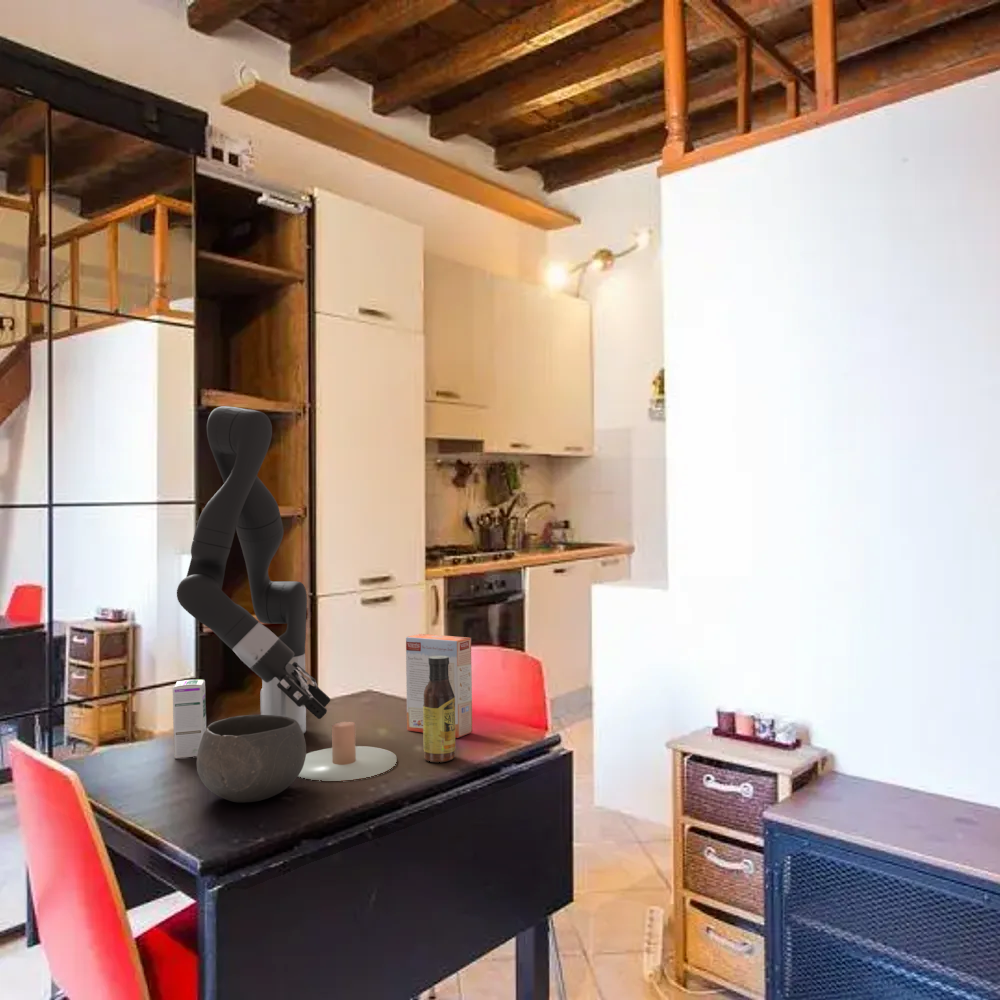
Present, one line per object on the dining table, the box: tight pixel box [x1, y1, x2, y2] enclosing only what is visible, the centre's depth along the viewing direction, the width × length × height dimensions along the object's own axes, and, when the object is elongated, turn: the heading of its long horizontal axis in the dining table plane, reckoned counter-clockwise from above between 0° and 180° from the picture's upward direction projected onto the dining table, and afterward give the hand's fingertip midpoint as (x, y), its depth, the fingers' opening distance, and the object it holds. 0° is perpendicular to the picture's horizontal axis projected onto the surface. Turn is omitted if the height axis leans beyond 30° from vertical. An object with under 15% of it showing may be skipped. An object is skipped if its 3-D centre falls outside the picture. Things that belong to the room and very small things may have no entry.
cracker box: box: [405, 633, 473, 739], centre depth 183 cm, size 14×6×21 cm, turn 58°
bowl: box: [196, 714, 307, 803], centre depth 144 cm, size 18×18×13 cm
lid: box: [297, 721, 398, 782], centre depth 161 cm, size 20×20×8 cm
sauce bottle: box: [422, 656, 456, 763], centre depth 164 cm, size 7×6×20 cm
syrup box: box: [171, 679, 207, 759], centre depth 169 cm, size 6×6×14 cm
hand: (325, 709), depth 161 cm, fingers open, 8 cm apart
